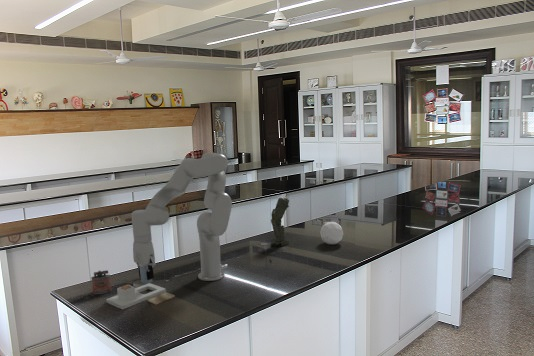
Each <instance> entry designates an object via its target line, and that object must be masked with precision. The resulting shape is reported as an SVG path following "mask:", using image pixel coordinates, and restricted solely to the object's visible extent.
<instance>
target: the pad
mask: <svg viewBox="0 0 534 356" xmlns="http://www.w3.org/2000/svg"><path fill="white" fill-rule="evenodd" d="M175 297H176V295H175V294H172V293H169V292H167V291H166V292H165V293H162V294H160V295H157V296H155V297H152V298H150V299H148V300H146V301H147V302H149V303H151V304H153V305H156V306H157V305H159V304H161V303H163V302H165V301H167V300H168V301H169V300H171V299H174V298H175Z"/></svg>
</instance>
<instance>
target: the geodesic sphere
mask: <svg viewBox="0 0 534 356" xmlns="http://www.w3.org/2000/svg"><path fill="white" fill-rule="evenodd" d="M323 223H324V224H323V225H322V226H321V229H320V233H319V234H320V237H321V240H322V241H323V242H324V243H325V244H327V245H337V244H338V243H339V242H341V240H342V239H343V237H344V231H343V228H342V226H341V225H340V224H339V223H337V222H336V221H333V220H331V221H328V220H326V221H324V222H323Z"/></svg>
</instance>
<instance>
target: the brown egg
mask: <svg viewBox="0 0 534 356" xmlns="http://www.w3.org/2000/svg"><path fill="white" fill-rule="evenodd" d="M128 285H129V284H126V286H125V285H122V286H123V287H122V286H121V287H122V288H123V290H126V289H129V286H128Z"/></svg>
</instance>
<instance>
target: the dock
mask: <svg viewBox="0 0 534 356" xmlns="http://www.w3.org/2000/svg"><path fill="white" fill-rule="evenodd" d="M126 285H128V286H129V289H126V290H123V288H122V287H123V286H126ZM126 285H122V286H119V287H117V288H116V291H117V294H116V295H114V296H112V297H109V298H106V303H107V304H109V305H111V306H113V307H116V308H118V309H121V310H125V309H128V308H130V307H133V306H135V305H137V304H140V303H143V302H145V301H147V300H148V299H151V298H153V297H156V296H158V295H161V294H163V293H166V292H167V288H165V287H161V286H159V285H156V284H154V283H152V282H151V283H148V284H143V285H140V286H138V287H135V286H132V285H131V284H126ZM147 290H150V292H148V293H145V294H143V293H142V292H145V291H147Z"/></svg>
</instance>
